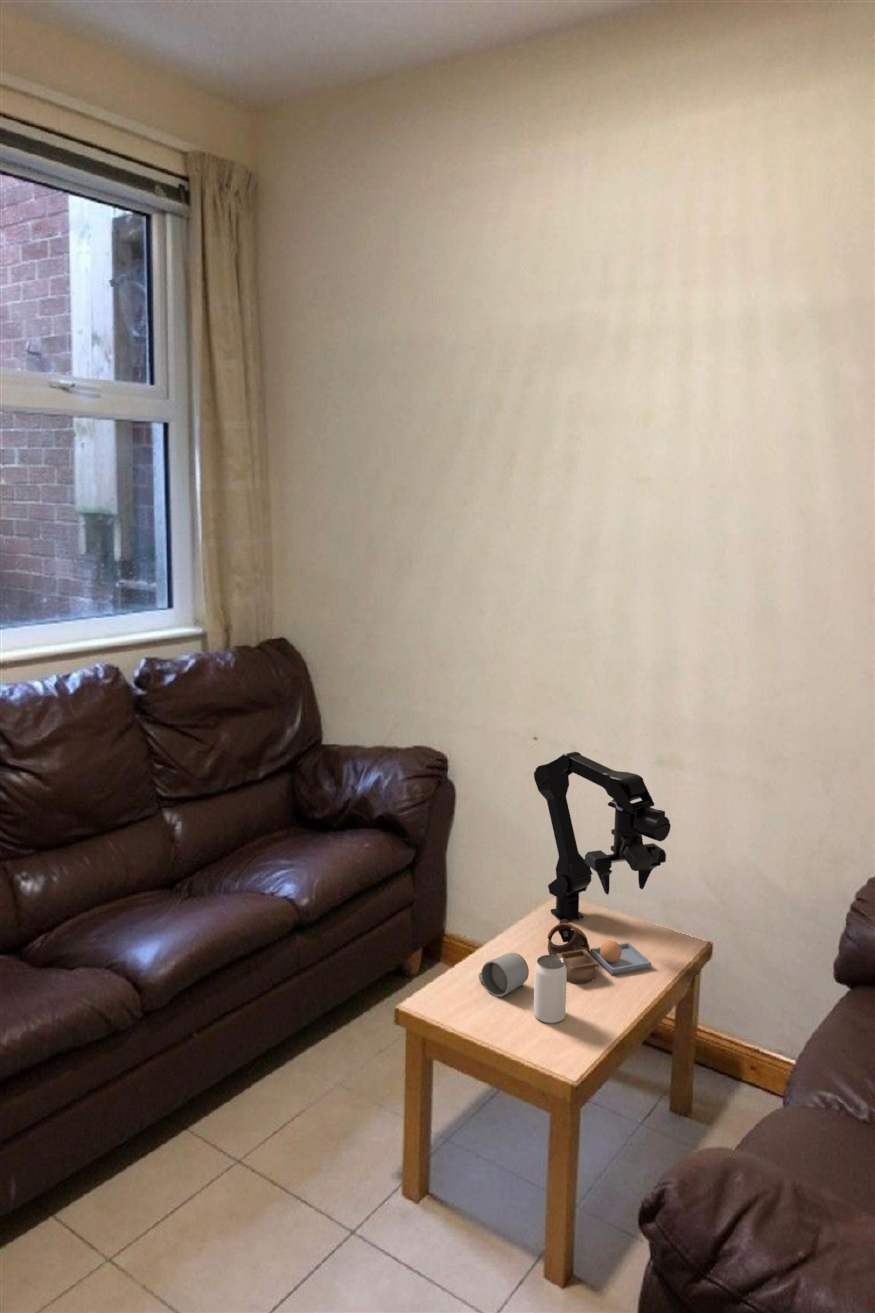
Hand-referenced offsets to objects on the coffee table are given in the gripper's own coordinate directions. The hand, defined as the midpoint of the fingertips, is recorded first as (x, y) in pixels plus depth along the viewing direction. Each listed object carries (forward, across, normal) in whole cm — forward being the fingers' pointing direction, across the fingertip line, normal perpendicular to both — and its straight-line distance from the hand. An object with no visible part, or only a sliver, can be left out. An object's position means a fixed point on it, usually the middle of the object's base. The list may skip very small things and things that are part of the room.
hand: (624, 891), depth 220 cm
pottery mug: (+13, -14, 0) cm, 20 cm away
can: (+13, -30, -23) cm, 40 cm away
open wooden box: (+13, -17, -10) cm, 24 cm away
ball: (+10, -8, -8) cm, 15 cm away
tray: (+13, -5, -8) cm, 16 cm away
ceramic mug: (+13, -35, -9) cm, 39 cm away
